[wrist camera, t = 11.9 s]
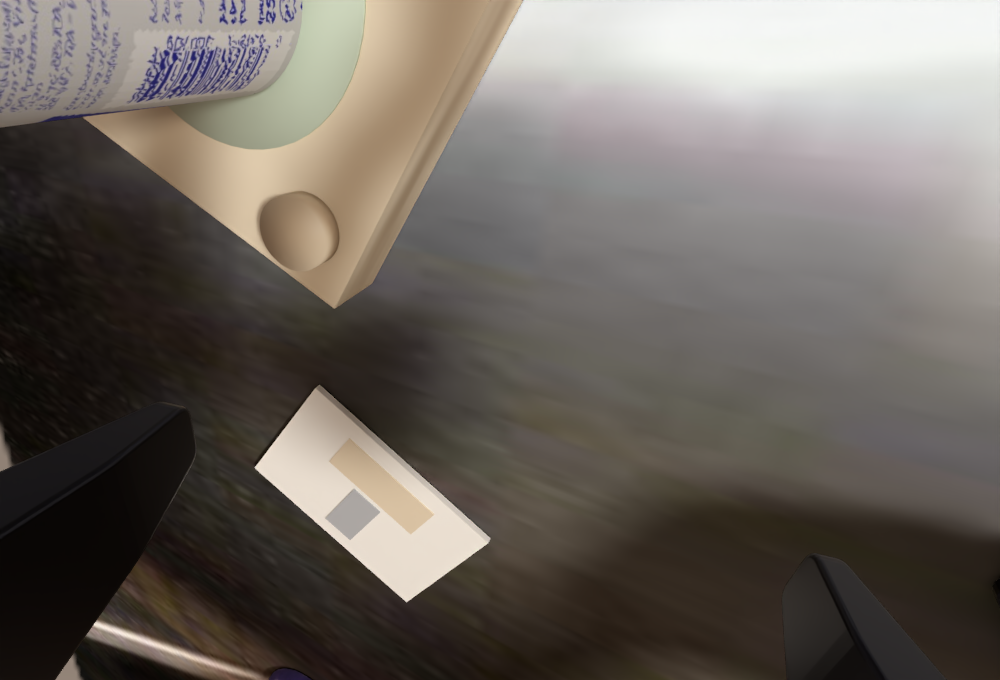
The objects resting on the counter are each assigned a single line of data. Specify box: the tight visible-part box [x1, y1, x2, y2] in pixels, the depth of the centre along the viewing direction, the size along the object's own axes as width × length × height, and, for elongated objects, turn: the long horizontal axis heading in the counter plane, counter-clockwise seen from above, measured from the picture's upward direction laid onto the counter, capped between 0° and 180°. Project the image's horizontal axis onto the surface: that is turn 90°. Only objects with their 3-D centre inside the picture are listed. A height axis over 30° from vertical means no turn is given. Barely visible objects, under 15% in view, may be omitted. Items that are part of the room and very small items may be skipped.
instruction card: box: [255, 385, 490, 602], centre depth 28 cm, size 10×7×1 cm
